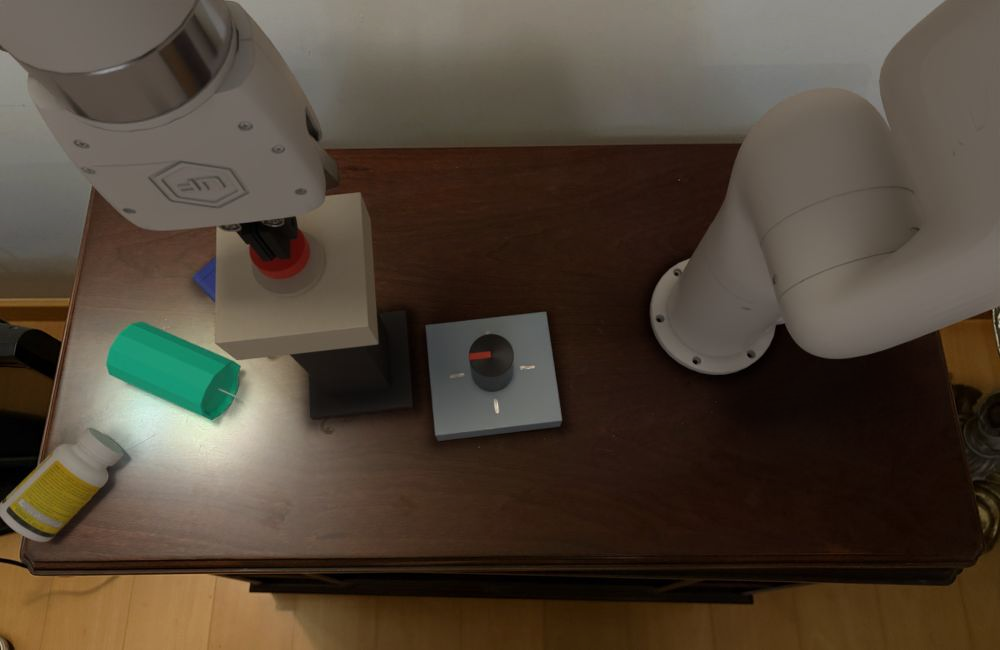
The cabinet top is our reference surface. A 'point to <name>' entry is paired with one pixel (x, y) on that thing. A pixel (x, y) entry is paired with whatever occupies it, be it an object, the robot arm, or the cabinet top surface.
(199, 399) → the candle
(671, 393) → the cabinet top surface
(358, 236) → the switch tower
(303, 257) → the power button
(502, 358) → the dial
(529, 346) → the dial panel
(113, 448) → the supplement bottle
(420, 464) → the cabinet top surface
